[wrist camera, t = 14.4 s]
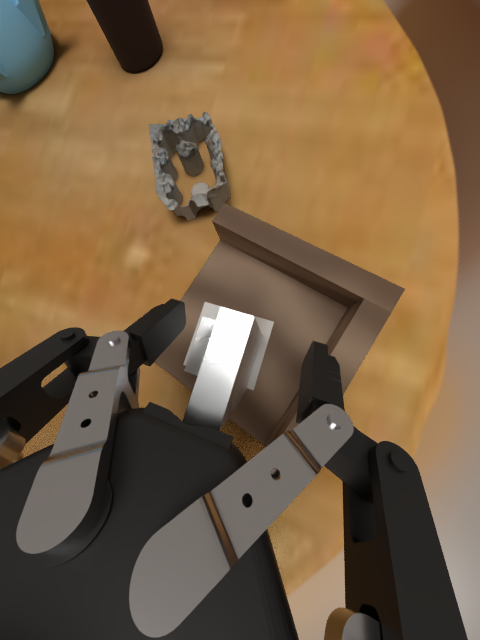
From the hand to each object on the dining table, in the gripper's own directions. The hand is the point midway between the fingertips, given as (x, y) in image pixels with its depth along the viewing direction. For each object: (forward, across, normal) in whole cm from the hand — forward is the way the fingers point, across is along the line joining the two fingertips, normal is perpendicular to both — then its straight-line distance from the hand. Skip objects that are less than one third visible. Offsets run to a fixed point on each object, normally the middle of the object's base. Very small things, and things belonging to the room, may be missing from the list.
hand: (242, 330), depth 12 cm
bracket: (+3, +2, +6) cm, 7 cm away
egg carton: (+17, +12, -6) cm, 21 cm away
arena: (+6, 0, +5) cm, 7 cm away
